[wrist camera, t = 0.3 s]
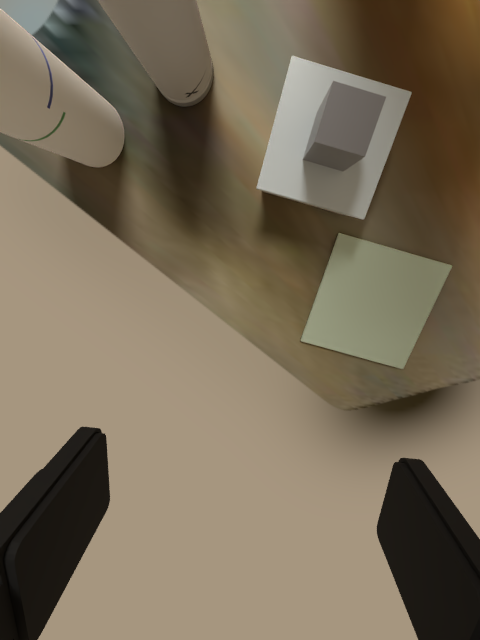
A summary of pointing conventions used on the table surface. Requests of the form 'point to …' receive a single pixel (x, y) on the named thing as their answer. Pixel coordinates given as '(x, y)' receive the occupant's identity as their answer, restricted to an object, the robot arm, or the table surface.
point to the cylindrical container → (53, 102)
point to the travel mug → (167, 45)
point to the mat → (373, 301)
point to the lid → (331, 138)
